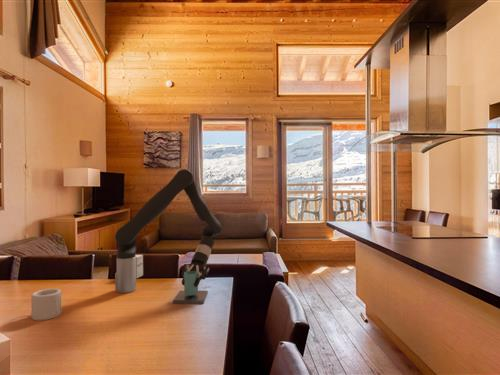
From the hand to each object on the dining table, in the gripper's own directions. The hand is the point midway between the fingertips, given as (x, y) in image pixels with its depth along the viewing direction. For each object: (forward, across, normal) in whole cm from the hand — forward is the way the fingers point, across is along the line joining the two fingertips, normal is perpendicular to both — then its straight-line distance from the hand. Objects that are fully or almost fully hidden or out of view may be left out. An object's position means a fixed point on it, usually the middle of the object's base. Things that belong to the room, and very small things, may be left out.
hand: (189, 285), depth 158 cm
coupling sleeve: (+2, 0, +4) cm, 5 cm away
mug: (+32, -46, -22) cm, 61 cm away
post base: (+4, 0, +6) cm, 7 cm away
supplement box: (-11, -53, +21) cm, 58 cm away
